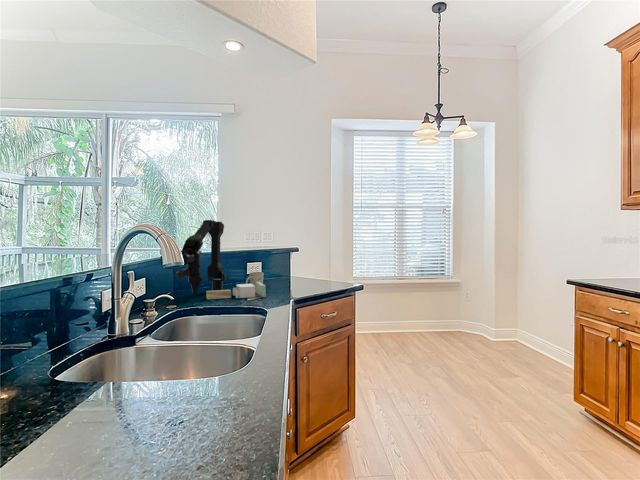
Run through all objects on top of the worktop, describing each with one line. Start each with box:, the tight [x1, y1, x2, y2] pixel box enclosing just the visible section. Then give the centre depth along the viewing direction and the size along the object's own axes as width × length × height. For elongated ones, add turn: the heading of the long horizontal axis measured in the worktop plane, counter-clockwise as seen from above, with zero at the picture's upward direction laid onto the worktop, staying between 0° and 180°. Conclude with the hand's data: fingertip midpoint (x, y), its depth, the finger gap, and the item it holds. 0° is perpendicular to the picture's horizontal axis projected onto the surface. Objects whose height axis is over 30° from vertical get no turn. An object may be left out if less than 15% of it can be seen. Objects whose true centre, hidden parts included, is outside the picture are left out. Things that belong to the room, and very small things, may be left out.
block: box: [232, 283, 256, 299], centre depth 197 cm, size 10×10×6 cm
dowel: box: [205, 289, 232, 300], centre depth 192 cm, size 4×12×4 cm, turn 114°
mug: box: [245, 271, 264, 292], centre depth 215 cm, size 8×13×10 cm, turn 148°
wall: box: [255, 282, 267, 298], centre depth 201 cm, size 14×2×6 cm, turn 23°
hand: (194, 293), depth 188 cm, fingers closed
